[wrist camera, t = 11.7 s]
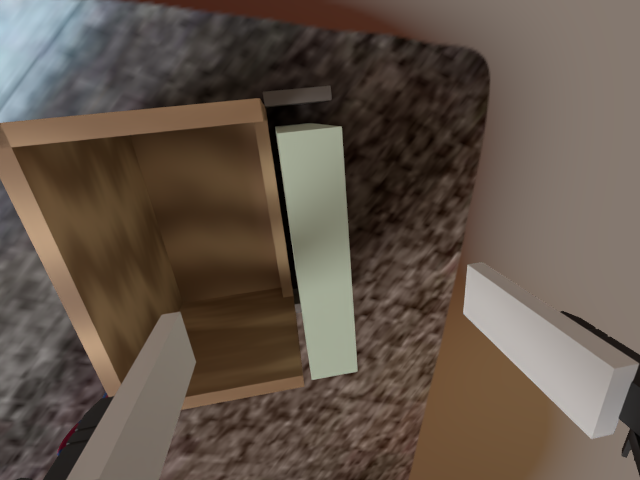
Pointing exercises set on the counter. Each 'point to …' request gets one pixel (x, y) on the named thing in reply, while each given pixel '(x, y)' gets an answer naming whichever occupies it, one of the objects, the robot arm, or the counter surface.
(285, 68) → the counter surface
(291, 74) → the counter surface
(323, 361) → the door
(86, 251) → the carcass
